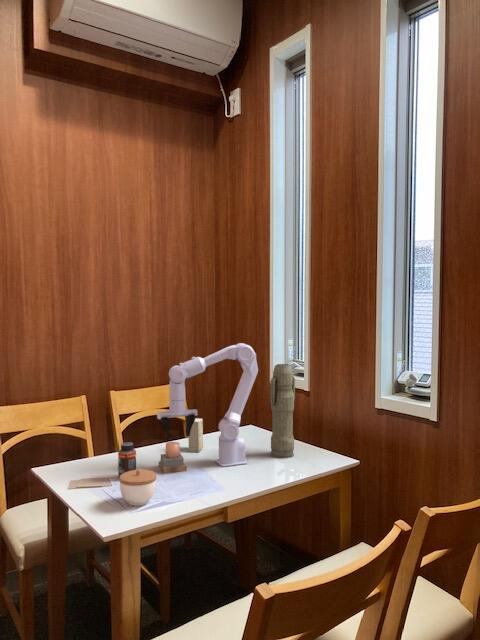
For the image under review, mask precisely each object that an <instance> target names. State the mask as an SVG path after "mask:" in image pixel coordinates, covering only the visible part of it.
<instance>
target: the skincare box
mask: <svg viewBox="0 0 480 640" xmlns="http://www.w3.org/2000/svg"><path fill="white" fill-rule="evenodd" d="M203 420H204V419H203V418H199V417H196V418H195V421H194V423H193V425H192V428H191V431H190V436H188V452H190V453H200V452H201V451H202V450H203V449H202V448H204V437H203V436H204V434H203V433H204V432H203V430H204V423H203V422H204V421H203Z"/></svg>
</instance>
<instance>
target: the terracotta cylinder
mask: <svg viewBox="0 0 480 640" xmlns="http://www.w3.org/2000/svg"><path fill="white" fill-rule="evenodd" d="M179 453H180V442H177V441H168V442H166V443H165V454H166V457H167V458H177V457H179Z"/></svg>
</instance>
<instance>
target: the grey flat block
mask: <svg viewBox="0 0 480 640" xmlns="http://www.w3.org/2000/svg"><path fill="white" fill-rule="evenodd" d="M160 461H161V463H162V465H163V467H174V466H184V463H185V461H184V457H183V455H182V454H181V452H179V457H177V458H167V457H166V453H162V454H160Z"/></svg>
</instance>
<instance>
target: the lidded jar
mask: <svg viewBox="0 0 480 640" xmlns="http://www.w3.org/2000/svg"><path fill="white" fill-rule="evenodd" d="M118 479H119V489H120V490H119V491H120V494H121V497H122V498H123V499H124V500H125V501H126V502H127V504H128V503H129V504H128V505H130V504H131V505H130V506H134V505H136V506H143V505H146V504H148V503H149V501H150V500H151V499H152V498H153V496H154V494H155V492H156V489H157V473H156V472H155V471H153V470H149V469H139V468H138V469H136V470H132V471H128V472H125V473H123V474H121V475H120V477H119V476H118Z"/></svg>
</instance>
